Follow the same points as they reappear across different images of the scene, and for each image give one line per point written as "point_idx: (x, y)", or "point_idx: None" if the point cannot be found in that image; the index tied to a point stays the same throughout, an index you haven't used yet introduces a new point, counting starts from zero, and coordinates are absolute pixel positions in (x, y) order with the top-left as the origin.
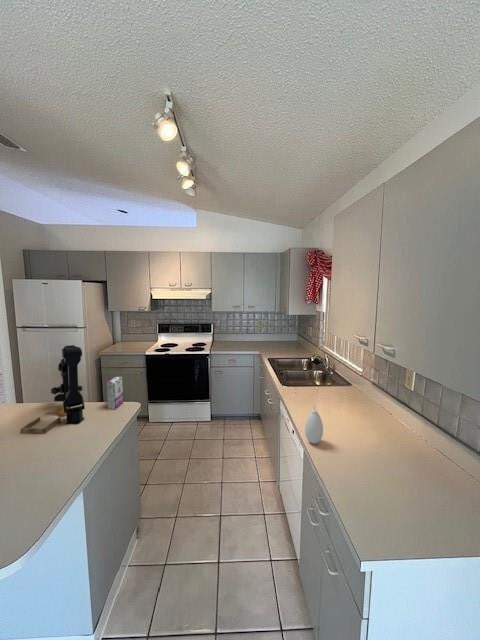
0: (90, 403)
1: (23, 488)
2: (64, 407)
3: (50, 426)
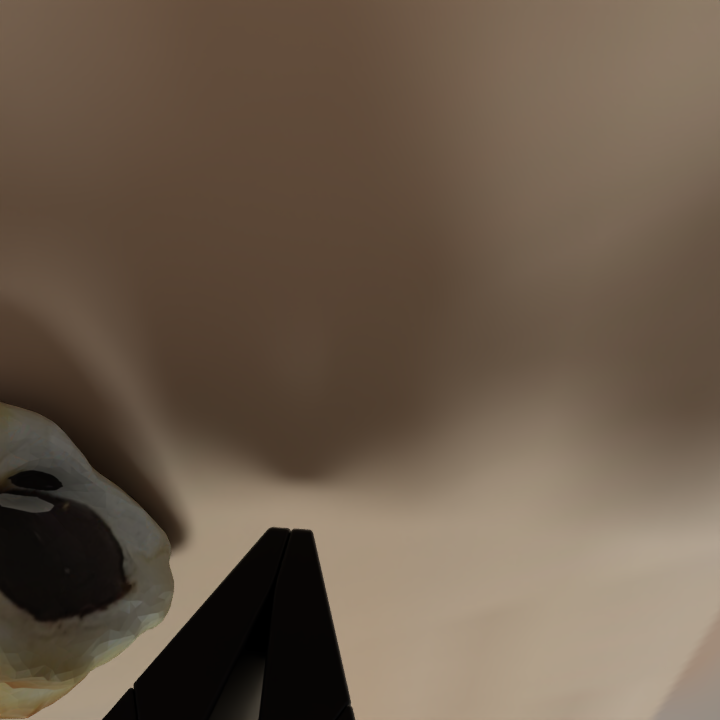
0: (622, 708)
1: None
2: None
3: None
